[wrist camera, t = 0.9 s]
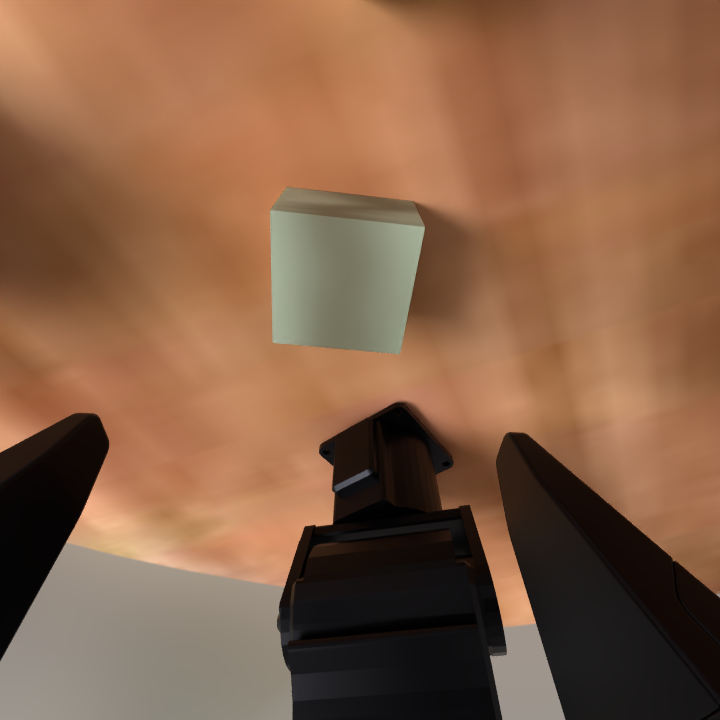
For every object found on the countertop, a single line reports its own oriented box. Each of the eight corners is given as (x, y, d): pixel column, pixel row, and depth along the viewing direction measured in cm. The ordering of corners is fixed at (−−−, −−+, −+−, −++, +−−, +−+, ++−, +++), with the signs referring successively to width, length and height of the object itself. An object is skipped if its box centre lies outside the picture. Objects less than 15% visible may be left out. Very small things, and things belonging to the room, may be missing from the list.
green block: (412, 200, 18) (425, 226, 14) (393, 311, 21) (399, 354, 17) (287, 186, 17) (270, 210, 14) (286, 300, 20) (272, 342, 17)
